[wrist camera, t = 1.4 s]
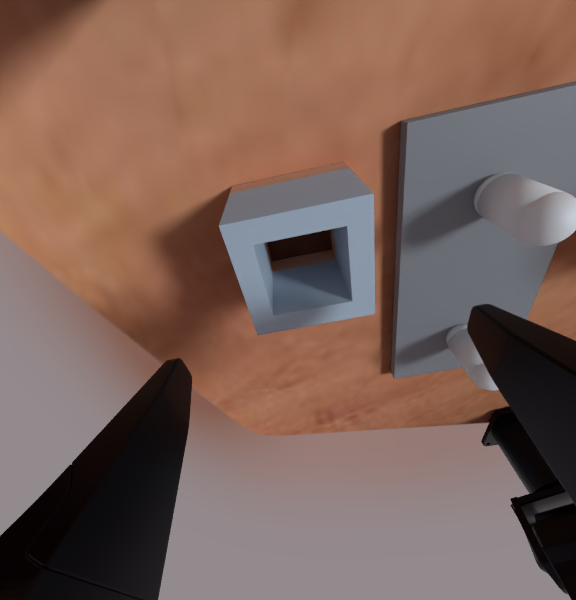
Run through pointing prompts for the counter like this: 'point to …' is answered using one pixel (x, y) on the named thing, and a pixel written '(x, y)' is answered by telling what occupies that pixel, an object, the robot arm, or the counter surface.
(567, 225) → the pin board
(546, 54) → the counter surface
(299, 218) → the sleeve
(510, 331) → the robot arm
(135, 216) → the counter surface
